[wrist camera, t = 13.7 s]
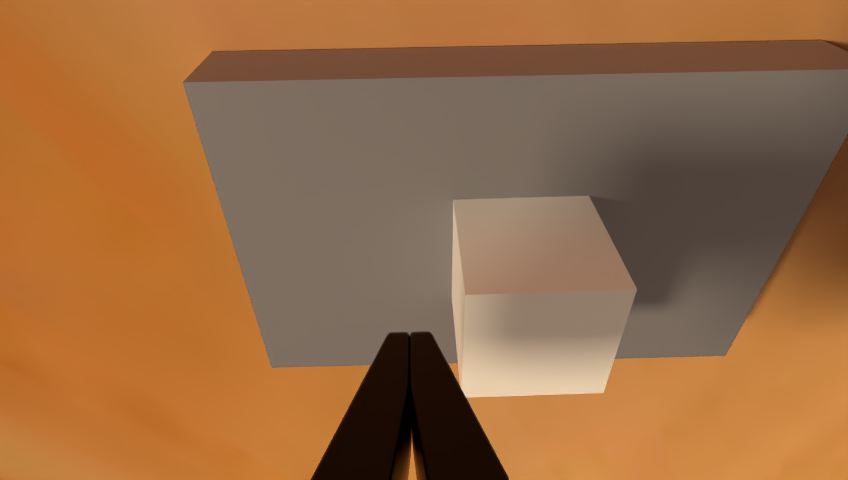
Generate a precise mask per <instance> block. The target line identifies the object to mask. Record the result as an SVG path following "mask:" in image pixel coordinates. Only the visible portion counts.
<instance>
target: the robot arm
mask: <svg viewBox="0 0 848 480" xmlns="http://www.w3.org/2000/svg"><path fill="white" fill-rule="evenodd" d="M412 443H413V453H414V461H415V468H416V476H417V480H509V478H508V476H507V474H506V472H505V470H504V468H503V466H502V464H501V463H500V461H499V459H498V457H497V455H496V453H495V451H494V449H493V447H492V446H491V444H490V442H489V440H488V438H487V436H486V434H485V432H484V430H483V429H482V427H481V425H480V423H479V421H478V419H477V417H476V415H475V413H474V412H473V410H472V408H471V406H470V404H469V402H468V400H467V398H466V396H465V395H464V393H463V391H462V389H461V387H460V385H459V383H458V381H457V380H456V378H455V376H454V374H453V372H452V370H451V368H450V366H449V364H448V363H447V361H446V359H445V357H444V355H443V353H442V351H441V349H440V347H439V346H438V344H437V342H436V340H435V338H434V336H433V334H432V333H431V332H429V331H419V332H412V333H411V334H410V335H409V333H407V332H390V333H389V334H388V335H387V336H386V338H385V340H384V341H383V343H382V345H381V347H380V349H379V351H378V353H377V355H376V357H375V359H374V360H373V362H372V364H371V366H370V368H369V370H368V372H367V374H366V376H365V378H364V379H363V381H362V383H361V385H360V387H359V389H358V391H357V393H356V395H355V397H354V398H353V400H352V402H351V404H350V406H349V408H348V410H347V412H346V414H345V415H344V417H343V419H342V421H341V423H340V425H339V427H338V429H337V431H336V433H335V434H334V436H333V438H332V440H331V442H330V444H329V446H328V448H327V450H326V452H325V453H324V455H323V457H322V459H321V461H320V463H319V465H318V467H317V469H316V471H315V472H314V474H313V476H312V478H311V480H408V475H409V466H410V457H411V444H412Z"/></svg>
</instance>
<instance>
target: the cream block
mask: <svg viewBox="0 0 848 480" xmlns="http://www.w3.org/2000/svg"><path fill="white" fill-rule="evenodd" d="M636 292H637V288H636V286H635V284H634V282H633V280H632V278H631V276H630V275H629V273H628V271H627V269H626V267H625V265H624V263H623V261H622V259H621V257H620V255H619V253H618V251H617V249H616V247H615V245H614V243H613V242H612V240H611V238H610V236H609V234H608V232H607V230H606V228H605V226H604V224H603V222H602V220H601V218H600V216H599V214H598V212H597V210H596V209H595V207H594V205H593V203H592V201H591V199H590V197H589V196H559V197H527V198H495V199H463V200H453V249H452V306H453V316H454V327H455V337H456V348H457V359H458V369H459V380H460V387H461V389H462V391H463V393H464V395H465V396H466V397H495V396H525V395H555V394H585V393H603V392H604V389H605V386H606V383H607V380H608V377H609V374H610V371H611V368H612V365H613V362H614V359H615V356H616V353H617V350H618V346H619V343H620V340H621V337H622V334H623V331H624V328H625V325H626V322H627V319H628V316H629V313H630V310H631V307H632V304H633V301H634V298H635V295H636Z"/></svg>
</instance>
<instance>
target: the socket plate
mask: <svg viewBox="0 0 848 480" xmlns="http://www.w3.org/2000/svg"><path fill="white" fill-rule="evenodd" d="M183 85H184V88H185V91H186V94H187V98H188V101H189V104H190V107H191V110H192V114H193V117H194V120H195V123H196V126H197V130H198V133H199V136H200V139H201V142H202V146H203V149H204V152H205V155H206V158H207V162H208V165H209V168H210V171H211V174H212V178H213V181H214V184H215V187H216V191H217V194H218V197H219V200H220V203H221V207H222V210H223V213H224V216H225V219H226V223H227V226H228V229H229V232H230V235H231V239H232V242H233V245H234V248H235V251H236V255H237V258H238V261H239V264H240V267H241V271H242V274H243V277H244V280H245V284H246V287H247V290H248V293H249V296H250V300H251V303H252V306H253V309H254V312H255V316H256V319H257V322H258V325H259V328H260V332H261V335H262V338H263V341H264V344H265V348H266V351H267V354H268V357H269V360H270V364H271V367H272V368H277V367H315V366H353V365H371V364H372V362H373V360H374V359H375V357H376V355H377V353H378V351H379V349H380V347H381V345H382V343H383V341H384V340H385V338H386V336H387V335H388V334H389V333H390V332H407V333H409V335H410V334H411V333H412V332H419V331H429V332H431V333H432V334H433V336H434V338H435V340H436V342H437V344H438V346H439V347H440V349H441V351H442V353H443V355H444V357H445V359H446V361H447V363H458V359H457V348H456V337H455V327H454V316H453V306H452V249H453V200H463V199H495V198H527V197H559V196H589V197H590V199H591V201H592V203H593V205H594V207H595V209H596V210H597V212H598V214H599V216H600V218H601V220H602V222H603V224H604V226H605V228H606V230H607V232H608V234H609V236H610V238H611V240H612V242H613V243H614V245H615V247H616V249H617V251H618V253H619V255H620V257H621V259H622V261H623V263H624V265H625V267H626V269H627V271H628V273H629V275H630V276H631V278H632V280H633V282H634V284H635V286H636V288H637V292H636V295H635V298H634V301H633V304H632V307H631V310H630V313H629V316H628V319H627V322H626V325H625V328H624V331H623V334H622V337H621V340H620V343H619V346H618V350H617V353H616V356H615V359H620V358H658V357H696V356H726V354H727V352H728V350H729V349H730V347H731V345H732V343H733V341H734V339H735V338H736V336H737V334H738V332H739V330H740V329H741V327H742V325H743V323H744V321H745V320H746V318H747V316H748V314H749V312H750V310H751V309H752V307H753V305H754V303H755V301H756V300H757V298H758V296H759V294H760V292H761V291H762V289H763V287H764V285H765V283H766V281H767V280H768V278H769V276H770V274H771V272H772V271H773V269H774V267H775V265H776V263H777V262H778V260H779V258H780V256H781V254H782V252H783V251H784V249H785V247H786V245H787V243H788V242H789V240H790V238H791V236H792V234H793V233H794V231H795V229H796V227H797V225H798V223H799V222H800V220H801V218H802V216H803V214H804V213H805V211H806V209H807V207H808V205H809V204H810V202H811V200H812V198H813V196H814V194H815V193H816V191H817V189H818V187H819V185H820V184H821V182H822V180H823V178H824V176H825V174H826V173H827V171H828V169H829V167H830V165H831V164H832V162H833V160H834V158H835V156H836V155H837V153H838V151H839V149H840V147H841V145H842V144H843V142H844V140H845V138H846V136H847V135H848V52H847V51H845V50H843V49H841V48H839V47H837V46H834V45H832V44H830V43H828V42H826V41H824V40H789V41H736V42H683V43H631V44H578V45H526V46H473V47H420V48H368V49H315V50H262V51H212V52H211V54H210V55H209V56H208V57H207V58H206V59H205V60H204V61H203V62H202V63H201V64H200V65H199V66H198V67H197V68H196V69H195V70H194V71H193V72H192V73H191V74H190V75H189V76H188V77H187V79H186V80H185V81H184V82H183Z"/></svg>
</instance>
